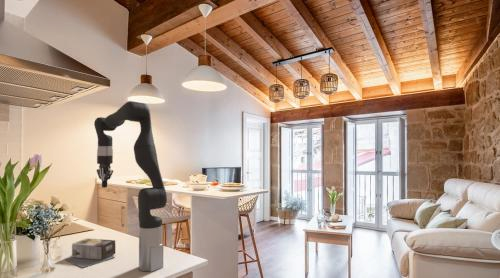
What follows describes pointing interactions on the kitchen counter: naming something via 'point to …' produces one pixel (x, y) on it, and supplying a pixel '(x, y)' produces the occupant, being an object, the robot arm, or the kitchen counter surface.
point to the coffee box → (93, 249)
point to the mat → (86, 261)
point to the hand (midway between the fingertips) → (104, 187)
